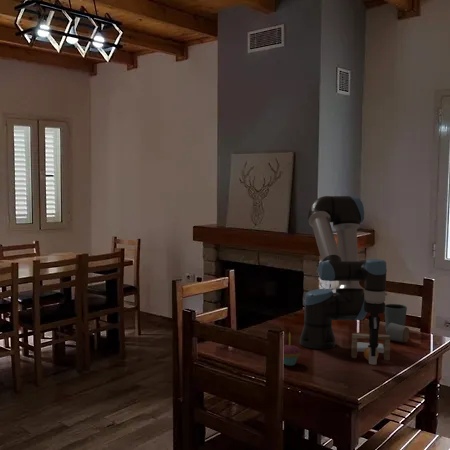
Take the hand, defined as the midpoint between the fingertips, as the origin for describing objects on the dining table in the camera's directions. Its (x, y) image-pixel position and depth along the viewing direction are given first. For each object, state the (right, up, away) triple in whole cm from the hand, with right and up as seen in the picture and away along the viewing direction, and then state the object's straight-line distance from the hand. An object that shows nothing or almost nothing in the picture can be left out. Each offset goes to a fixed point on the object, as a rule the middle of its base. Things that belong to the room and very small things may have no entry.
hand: (372, 363), depth 202 cm
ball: (+2, +1, +9) cm, 9 cm away
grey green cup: (+25, +1, +53) cm, 59 cm away
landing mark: (+5, 0, +27) cm, 27 cm away
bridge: (+2, -1, +13) cm, 13 cm away
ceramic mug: (+22, 0, +38) cm, 44 cm away
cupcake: (-31, -1, +5) cm, 31 cm away
